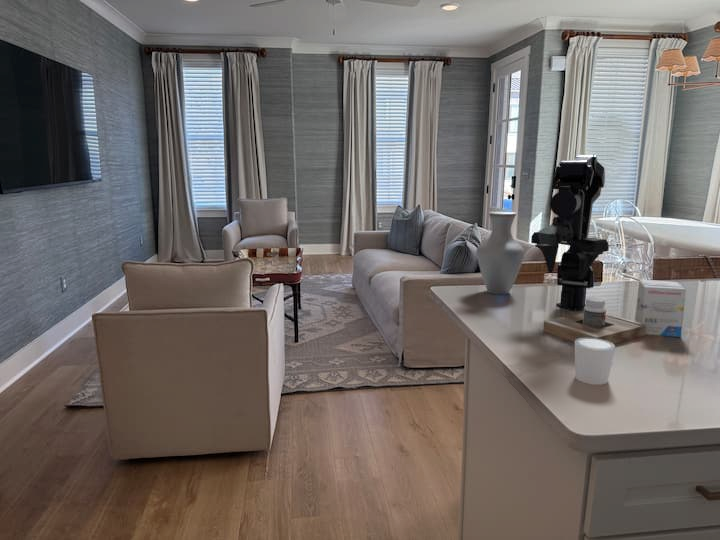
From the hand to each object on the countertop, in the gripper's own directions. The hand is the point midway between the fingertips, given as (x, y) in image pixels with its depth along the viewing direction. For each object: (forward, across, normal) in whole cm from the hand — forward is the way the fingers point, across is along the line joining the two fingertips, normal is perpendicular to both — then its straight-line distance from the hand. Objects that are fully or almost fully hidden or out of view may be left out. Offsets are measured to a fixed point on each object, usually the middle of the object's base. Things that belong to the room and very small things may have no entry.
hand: (565, 275), depth 128 cm
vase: (+12, -31, +8) cm, 34 cm away
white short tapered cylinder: (+12, +27, -24) cm, 38 cm away
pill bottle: (+12, +10, -1) cm, 16 cm away
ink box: (+12, +16, +14) cm, 25 cm away
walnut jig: (+12, +10, -1) cm, 16 cm away
